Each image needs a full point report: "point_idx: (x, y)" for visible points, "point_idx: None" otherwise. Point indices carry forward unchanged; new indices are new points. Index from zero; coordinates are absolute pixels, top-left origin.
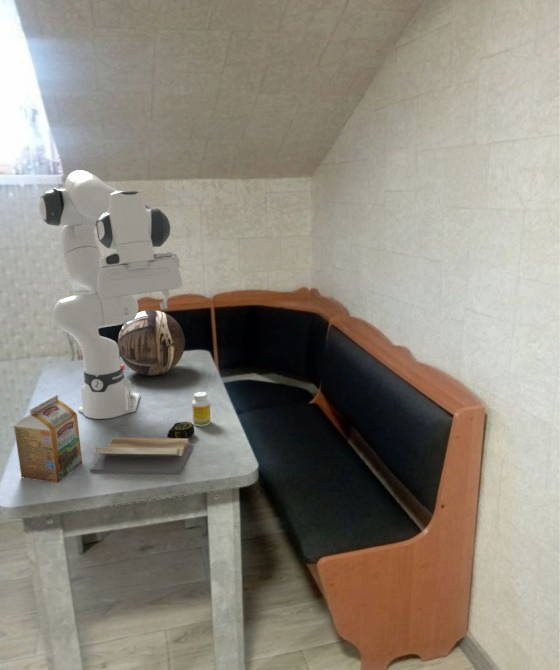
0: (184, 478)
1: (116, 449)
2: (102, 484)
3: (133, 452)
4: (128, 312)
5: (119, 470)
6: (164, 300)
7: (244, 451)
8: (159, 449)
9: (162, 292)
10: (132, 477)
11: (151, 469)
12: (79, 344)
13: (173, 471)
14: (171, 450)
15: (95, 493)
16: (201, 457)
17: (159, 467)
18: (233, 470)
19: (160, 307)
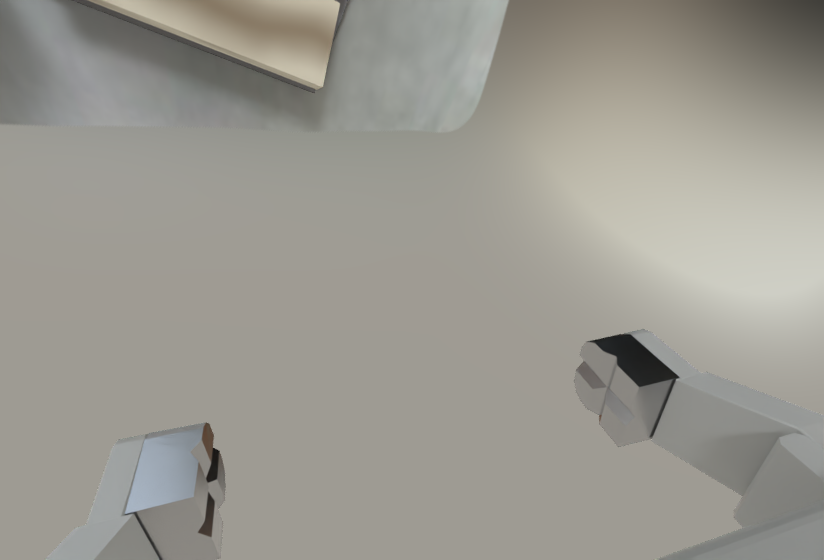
0: (322, 113)
1: (108, 4)
2: (86, 74)
3: (180, 35)
4: (221, 492)
5: (128, 20)
6: (669, 448)
7: (497, 18)
8: (272, 68)
9: (812, 479)
10: (179, 61)
11: (238, 59)
12: None
13: (299, 86)
14: (308, 82)
15: (80, 120)
16: (386, 7)
17: None
18: (434, 112)
19: (596, 359)
